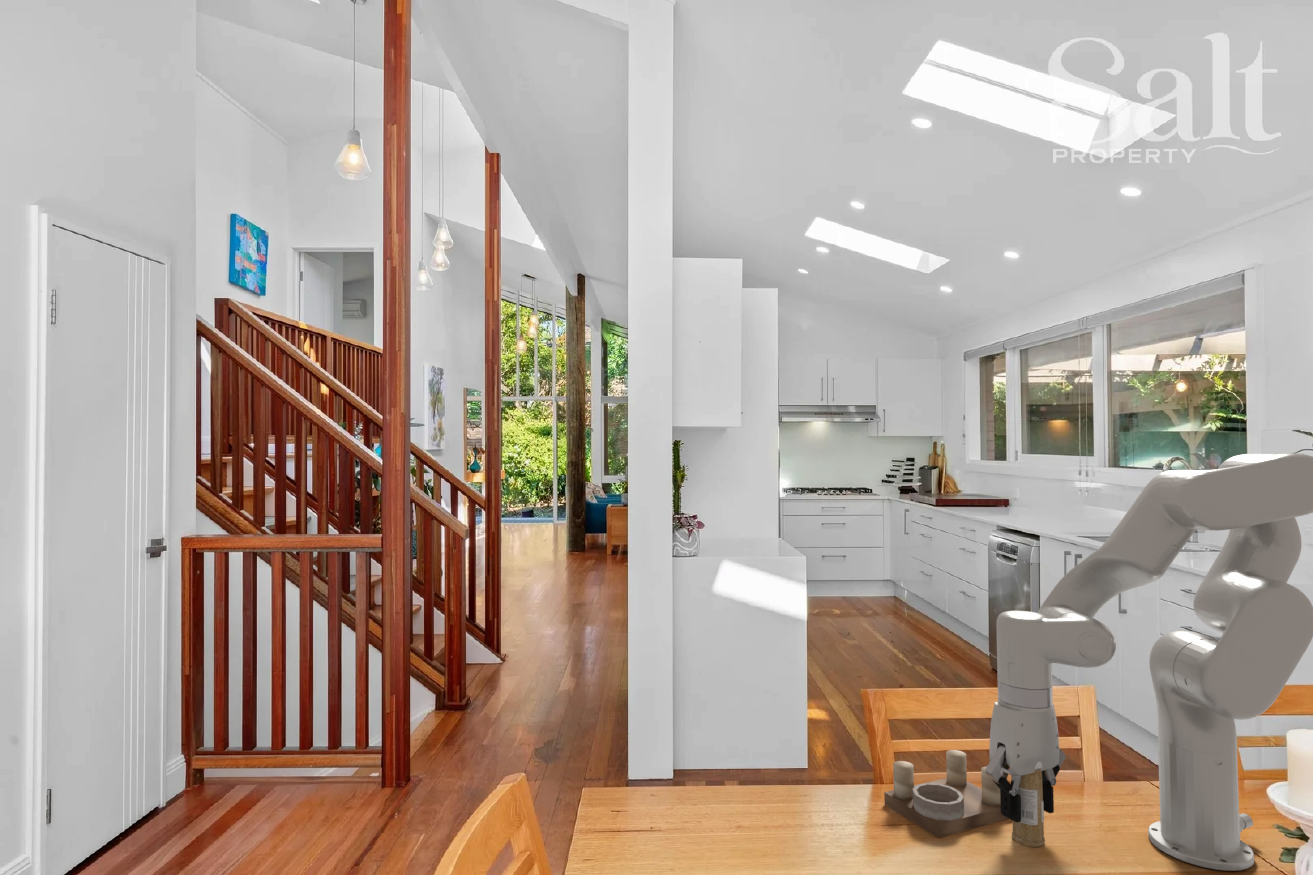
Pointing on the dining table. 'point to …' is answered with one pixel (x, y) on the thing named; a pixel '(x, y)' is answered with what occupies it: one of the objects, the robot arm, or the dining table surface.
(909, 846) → the dining table surface
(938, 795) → the bottle holder base
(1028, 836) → the sprinkles bottle
